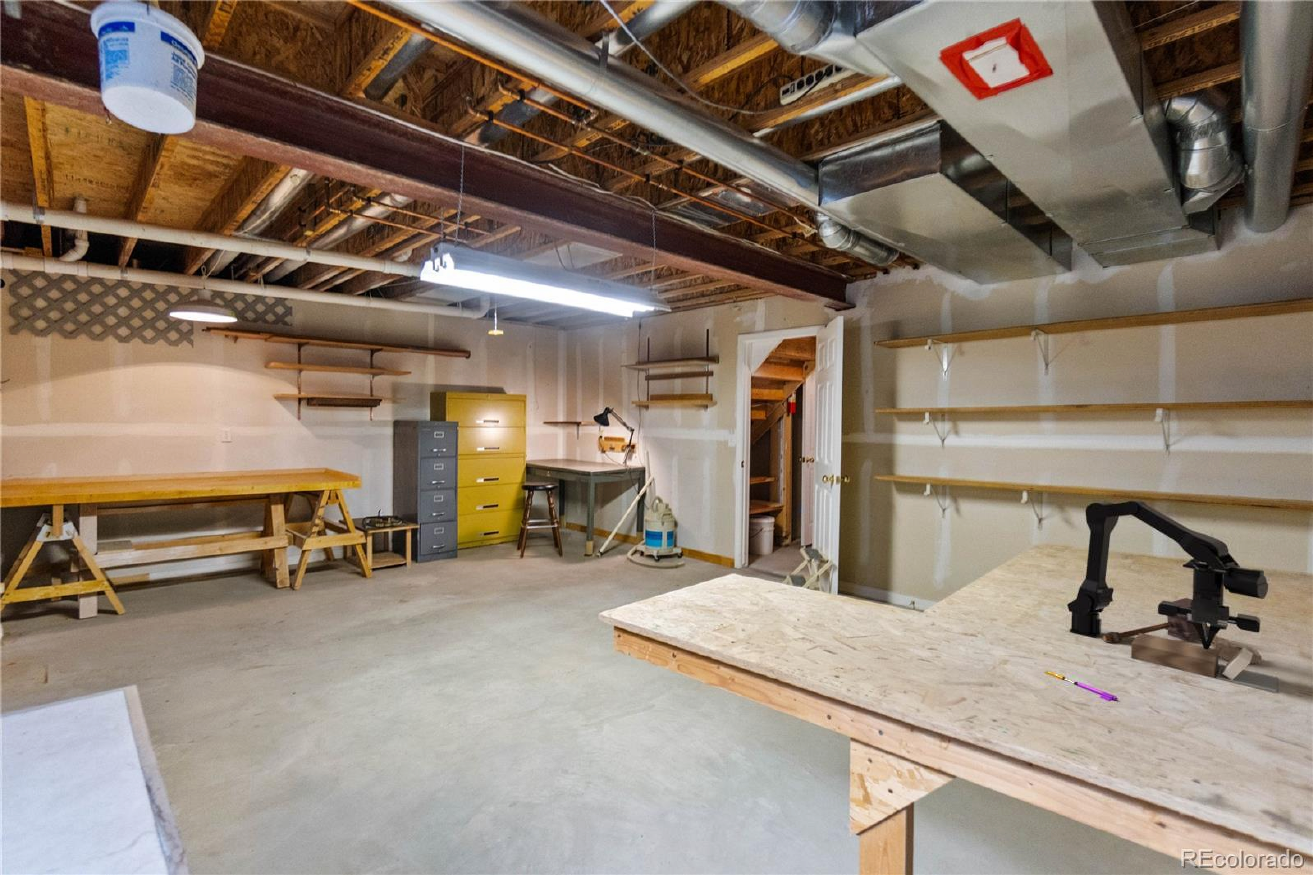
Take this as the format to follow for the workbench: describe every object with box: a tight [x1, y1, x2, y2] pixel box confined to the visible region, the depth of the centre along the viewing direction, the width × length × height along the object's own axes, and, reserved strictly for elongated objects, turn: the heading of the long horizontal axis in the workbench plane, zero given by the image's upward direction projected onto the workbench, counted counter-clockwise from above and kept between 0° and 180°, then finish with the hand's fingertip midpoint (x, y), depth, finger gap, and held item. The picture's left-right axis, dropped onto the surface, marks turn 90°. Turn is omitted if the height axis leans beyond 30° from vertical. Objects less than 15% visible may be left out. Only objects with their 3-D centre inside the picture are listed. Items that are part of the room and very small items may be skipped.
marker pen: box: [1044, 670, 1118, 702], centre depth 137 cm, size 3×1×16 cm
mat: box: [1216, 664, 1278, 694], centre depth 143 cm, size 10×12×1 cm
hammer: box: [1102, 597, 1210, 643], centre depth 169 cm, size 7×33×10 cm, turn 100°
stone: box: [1211, 634, 1262, 664], centre depth 157 cm, size 9×11×5 cm
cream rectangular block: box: [1222, 647, 1253, 680], centre depth 144 cm, size 6×9×2 cm
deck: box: [1130, 633, 1220, 679], centre depth 153 cm, size 16×12×4 cm
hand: (1206, 649), depth 148 cm, fingers closed
